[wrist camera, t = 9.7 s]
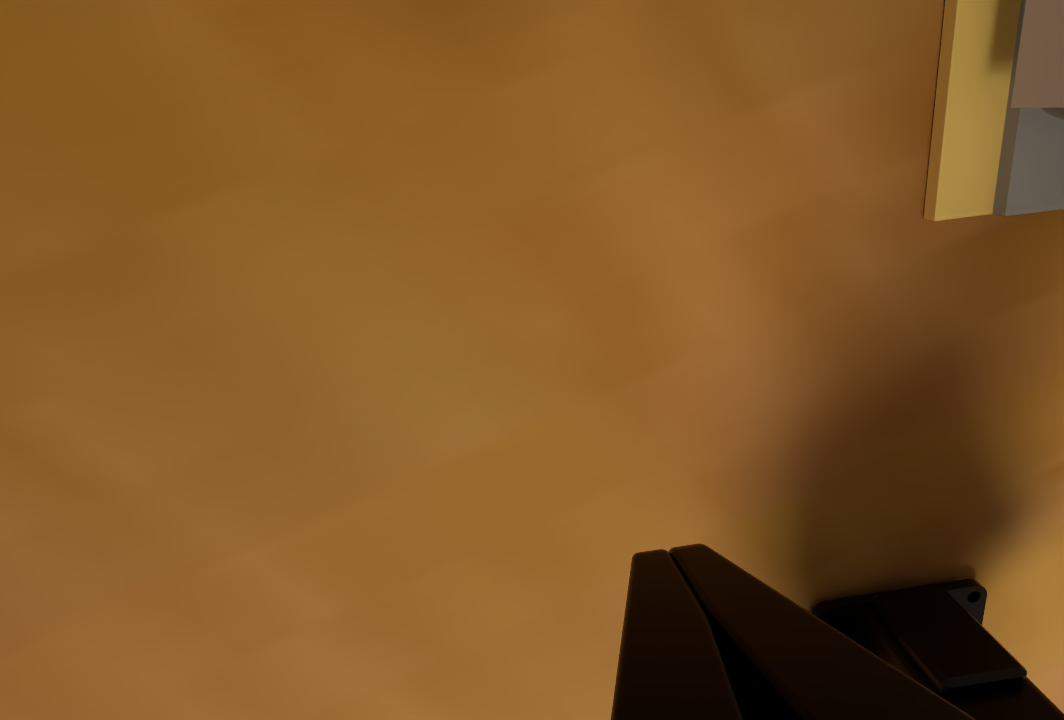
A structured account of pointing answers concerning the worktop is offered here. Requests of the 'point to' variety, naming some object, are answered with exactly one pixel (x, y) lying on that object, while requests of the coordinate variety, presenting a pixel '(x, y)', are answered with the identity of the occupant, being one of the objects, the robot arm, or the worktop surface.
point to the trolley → (1041, 58)
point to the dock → (988, 122)
